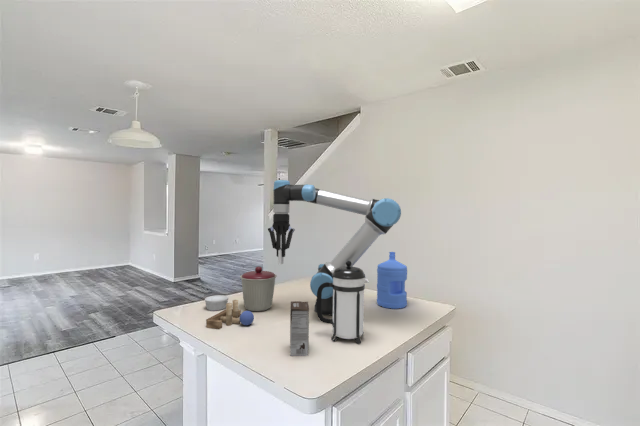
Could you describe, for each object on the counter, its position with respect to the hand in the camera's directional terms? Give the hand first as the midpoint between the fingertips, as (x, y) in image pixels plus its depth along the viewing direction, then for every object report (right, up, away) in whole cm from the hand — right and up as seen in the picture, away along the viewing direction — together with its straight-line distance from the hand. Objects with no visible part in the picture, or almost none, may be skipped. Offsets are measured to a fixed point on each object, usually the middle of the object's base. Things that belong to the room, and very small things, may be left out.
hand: (280, 263), depth 148 cm
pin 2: (-19, -24, -7) cm, 32 cm away
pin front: (-17, -23, -11) cm, 30 cm away
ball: (-13, -21, -12) cm, 28 cm away
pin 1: (-21, -24, -12) cm, 34 cm away
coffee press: (+28, -25, -25) cm, 45 cm away
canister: (-13, -25, +11) cm, 30 cm away
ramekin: (-34, -24, +11) cm, 43 cm away
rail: (-24, -24, -9) cm, 35 cm away
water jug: (+56, -25, +20) cm, 65 cm away
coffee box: (+11, -25, -37) cm, 46 cm away
